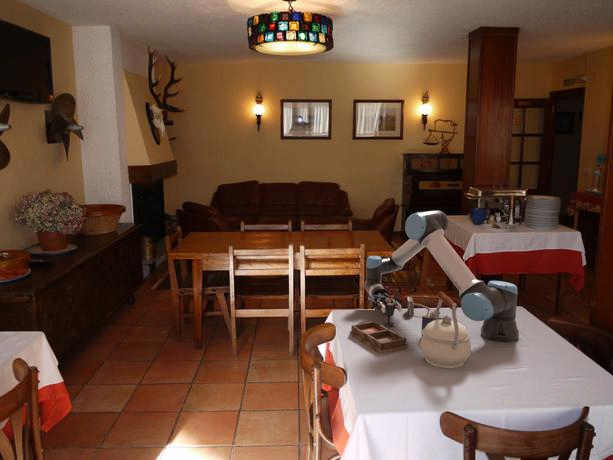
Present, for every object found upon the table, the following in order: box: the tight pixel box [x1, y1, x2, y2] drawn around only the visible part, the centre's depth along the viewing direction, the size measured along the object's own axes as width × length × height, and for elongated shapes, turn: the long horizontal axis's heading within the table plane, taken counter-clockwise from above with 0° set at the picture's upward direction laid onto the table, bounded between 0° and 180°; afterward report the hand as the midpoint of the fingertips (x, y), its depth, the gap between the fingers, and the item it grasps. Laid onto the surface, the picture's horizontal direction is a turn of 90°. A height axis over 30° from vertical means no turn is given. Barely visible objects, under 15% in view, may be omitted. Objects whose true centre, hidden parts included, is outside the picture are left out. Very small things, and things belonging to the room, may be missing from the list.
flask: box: [421, 312, 443, 337], centre depth 219 cm, size 9×3×11 cm, turn 88°
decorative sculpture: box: [406, 296, 441, 316], centre depth 245 cm, size 16×10×7 cm, turn 61°
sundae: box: [382, 291, 397, 328], centre depth 233 cm, size 7×7×15 cm
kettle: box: [419, 291, 472, 369], centre depth 196 cm, size 25×18×25 cm
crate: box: [349, 320, 409, 355], centre depth 216 cm, size 23×13×4 cm, turn 27°
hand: (392, 309), depth 228 cm, fingers closed on sundae, 6 cm apart
